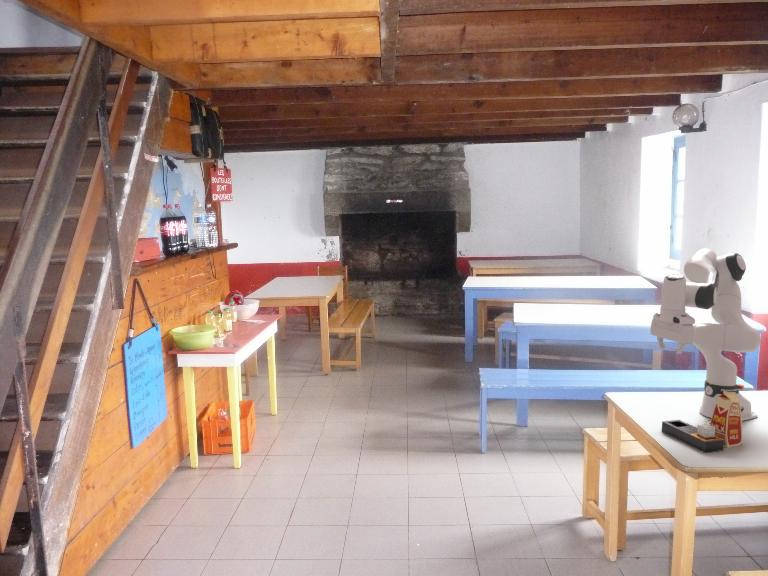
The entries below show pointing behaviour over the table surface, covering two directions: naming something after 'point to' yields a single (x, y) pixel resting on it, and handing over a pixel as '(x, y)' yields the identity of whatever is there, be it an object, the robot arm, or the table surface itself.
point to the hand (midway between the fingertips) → (670, 350)
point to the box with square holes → (691, 436)
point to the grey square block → (706, 431)
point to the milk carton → (728, 419)
